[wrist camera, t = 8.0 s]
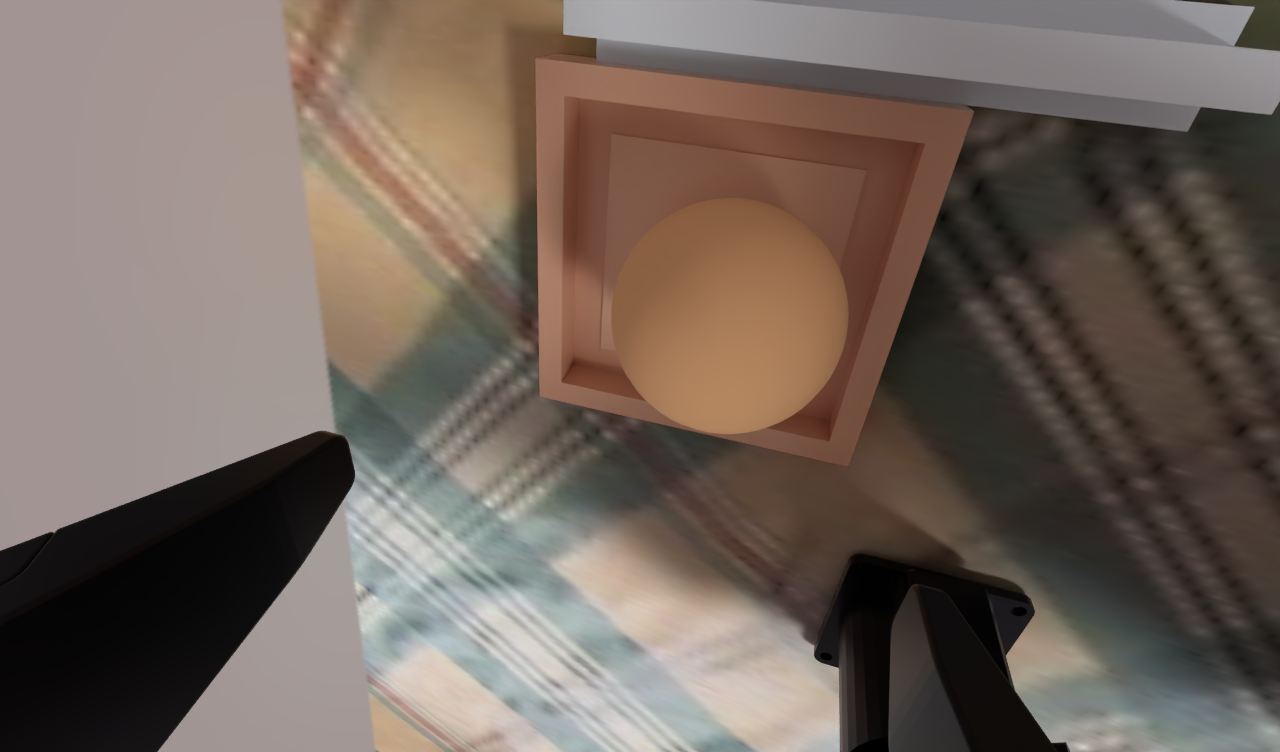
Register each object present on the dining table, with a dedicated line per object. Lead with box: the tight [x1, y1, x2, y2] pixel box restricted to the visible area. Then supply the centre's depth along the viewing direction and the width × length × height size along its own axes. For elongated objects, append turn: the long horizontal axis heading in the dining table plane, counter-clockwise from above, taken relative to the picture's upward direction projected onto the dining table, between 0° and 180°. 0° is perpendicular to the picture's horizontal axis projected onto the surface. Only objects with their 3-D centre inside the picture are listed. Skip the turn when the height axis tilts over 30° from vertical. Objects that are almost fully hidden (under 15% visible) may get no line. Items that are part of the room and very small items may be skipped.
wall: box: [563, 0, 1280, 132], centre depth 13 cm, size 2×14×3 cm, turn 85°
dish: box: [535, 54, 974, 467], centre depth 18 cm, size 11×11×2 cm
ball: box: [611, 198, 849, 434], centre depth 16 cm, size 6×6×6 cm
